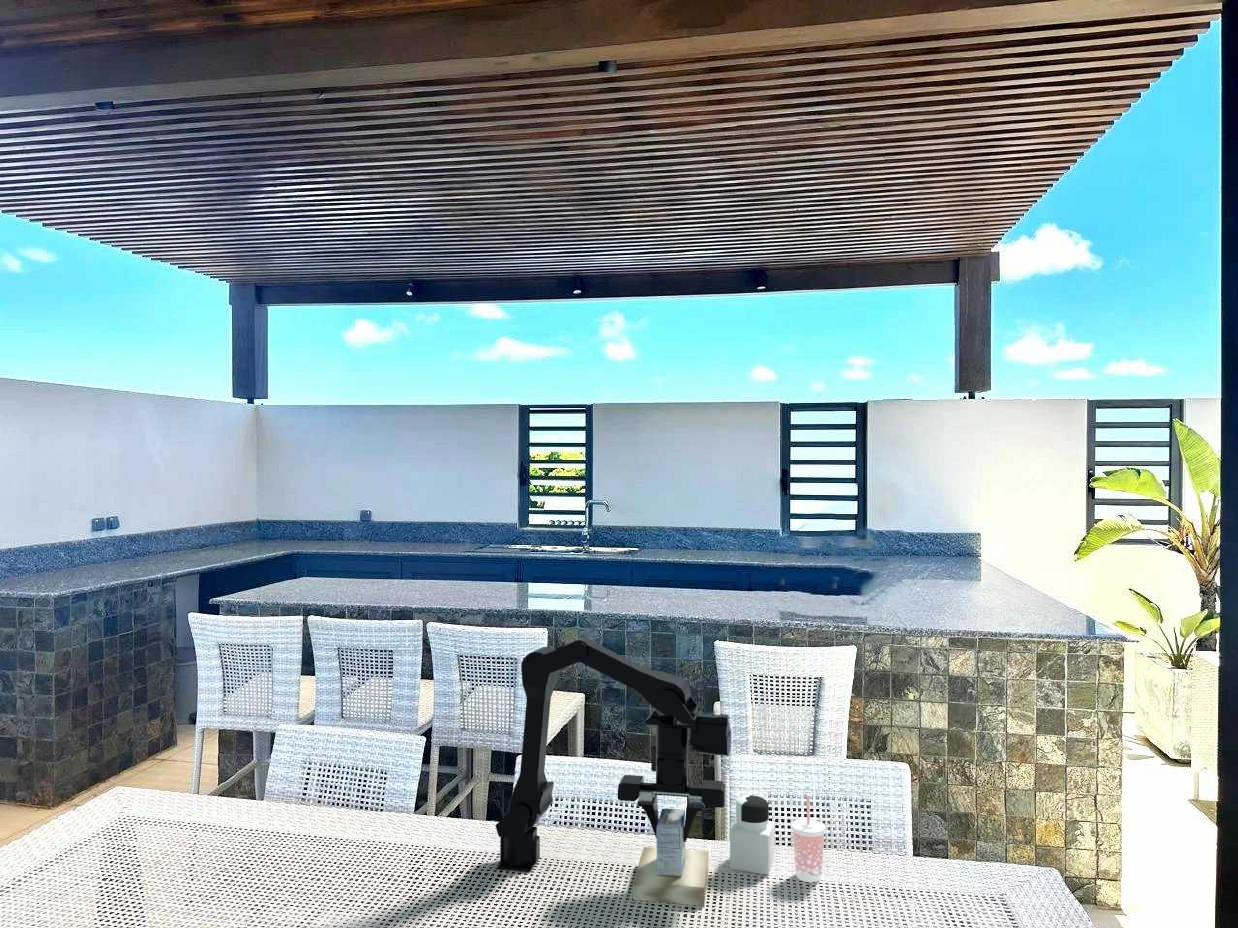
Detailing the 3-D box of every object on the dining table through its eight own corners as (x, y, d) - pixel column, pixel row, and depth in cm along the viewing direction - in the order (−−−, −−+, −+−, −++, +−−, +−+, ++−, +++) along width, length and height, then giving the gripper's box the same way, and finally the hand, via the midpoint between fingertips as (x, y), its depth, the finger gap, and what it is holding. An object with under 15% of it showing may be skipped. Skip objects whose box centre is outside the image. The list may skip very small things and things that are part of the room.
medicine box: (682, 877, 137) (682, 826, 137) (656, 875, 137) (656, 824, 138) (685, 857, 144) (685, 808, 145) (661, 855, 145) (661, 807, 145)
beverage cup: (827, 885, 140) (826, 804, 141) (791, 882, 142) (791, 801, 142) (825, 870, 146) (824, 792, 147) (791, 866, 148) (790, 789, 148)
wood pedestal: (633, 899, 135) (633, 881, 135) (643, 863, 149) (643, 846, 149) (704, 905, 133) (704, 887, 133) (708, 868, 147) (708, 851, 147)
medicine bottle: (774, 859, 151) (774, 794, 151) (768, 875, 144) (768, 808, 145) (737, 853, 153) (736, 790, 154) (729, 869, 146) (729, 803, 147)
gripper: (726, 740, 148) (725, 826, 148) (627, 734, 151) (626, 818, 151) (724, 758, 137) (724, 851, 137) (617, 752, 140) (616, 842, 140)
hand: (671, 839), depth 141 cm, fingers closed on medicine box, 4 cm apart
